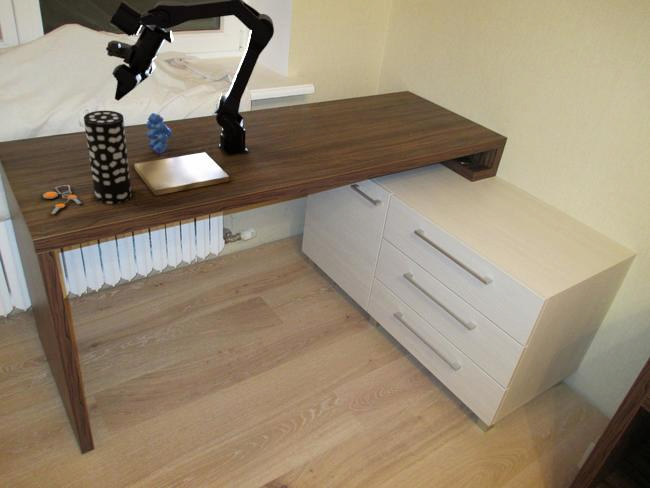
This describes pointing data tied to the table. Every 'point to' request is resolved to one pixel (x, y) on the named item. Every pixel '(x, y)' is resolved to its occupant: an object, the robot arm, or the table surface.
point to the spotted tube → (108, 156)
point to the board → (180, 173)
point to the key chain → (54, 194)
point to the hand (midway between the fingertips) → (122, 95)
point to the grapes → (158, 133)
